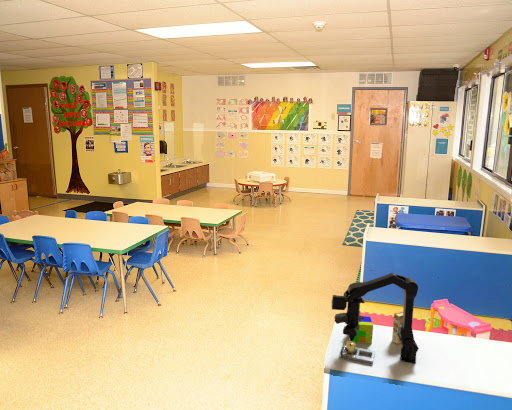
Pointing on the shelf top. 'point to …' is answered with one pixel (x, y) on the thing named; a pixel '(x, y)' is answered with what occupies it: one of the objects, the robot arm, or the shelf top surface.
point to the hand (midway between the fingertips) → (351, 340)
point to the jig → (357, 357)
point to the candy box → (397, 323)
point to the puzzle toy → (364, 331)
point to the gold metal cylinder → (350, 347)
